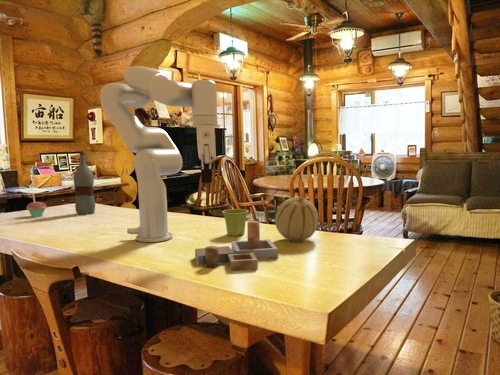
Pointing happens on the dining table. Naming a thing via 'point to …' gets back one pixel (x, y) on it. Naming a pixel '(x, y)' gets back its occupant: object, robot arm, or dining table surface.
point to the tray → (264, 252)
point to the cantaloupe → (296, 219)
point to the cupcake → (36, 208)
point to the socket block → (242, 261)
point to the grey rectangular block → (222, 255)
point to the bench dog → (212, 256)
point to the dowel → (253, 234)
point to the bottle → (84, 188)
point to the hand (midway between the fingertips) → (206, 182)
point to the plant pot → (235, 221)
